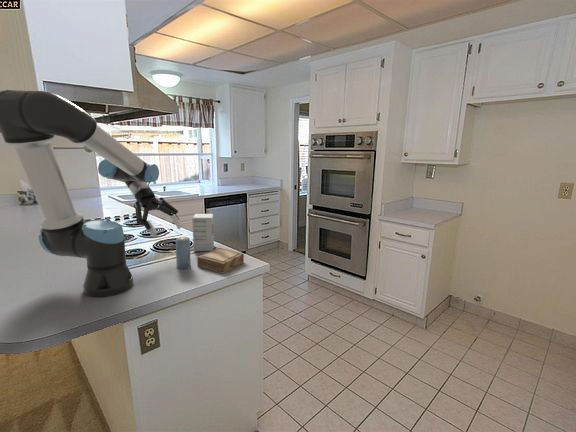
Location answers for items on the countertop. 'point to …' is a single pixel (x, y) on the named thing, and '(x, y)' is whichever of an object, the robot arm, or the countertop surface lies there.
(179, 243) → the canister
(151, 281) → the countertop surface
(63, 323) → the countertop surface
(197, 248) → the supplement box
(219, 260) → the walnut base
